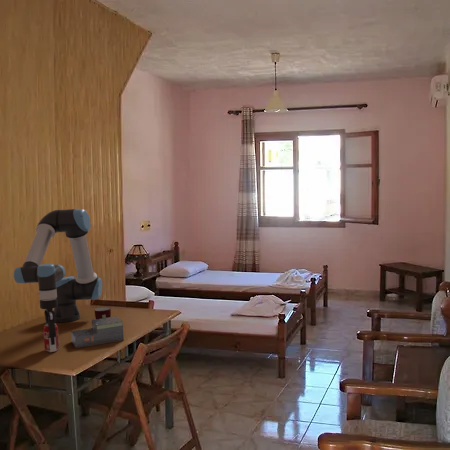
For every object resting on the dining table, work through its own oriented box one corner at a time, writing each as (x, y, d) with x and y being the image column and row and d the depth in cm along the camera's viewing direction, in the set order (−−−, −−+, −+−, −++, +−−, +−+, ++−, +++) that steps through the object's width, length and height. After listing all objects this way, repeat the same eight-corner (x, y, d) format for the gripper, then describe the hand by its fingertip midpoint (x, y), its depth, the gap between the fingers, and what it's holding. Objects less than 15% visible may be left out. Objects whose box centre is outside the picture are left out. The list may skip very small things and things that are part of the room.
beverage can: (46, 348, 252) (44, 322, 251) (60, 347, 253) (58, 321, 252) (43, 353, 246) (41, 326, 245) (57, 351, 246) (55, 325, 246)
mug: (106, 331, 277) (105, 312, 276) (91, 331, 278) (89, 312, 277) (114, 326, 287) (112, 307, 286) (99, 326, 289) (98, 307, 288)
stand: (71, 344, 262) (70, 319, 261) (117, 337, 271) (116, 313, 270) (76, 351, 251) (74, 325, 250) (124, 343, 260) (122, 318, 259)
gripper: (37, 296, 255) (41, 345, 257) (42, 303, 237) (46, 356, 239) (54, 294, 258) (57, 342, 260) (60, 301, 240) (64, 353, 242)
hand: (52, 349), depth 249 cm, fingers closed on beverage can, 6 cm apart
